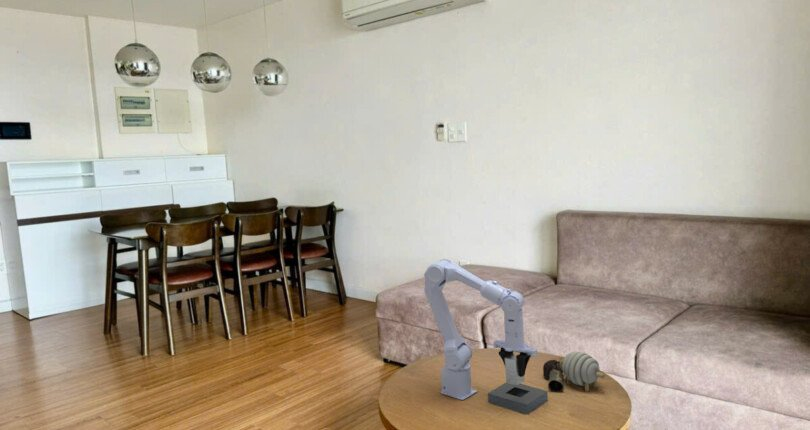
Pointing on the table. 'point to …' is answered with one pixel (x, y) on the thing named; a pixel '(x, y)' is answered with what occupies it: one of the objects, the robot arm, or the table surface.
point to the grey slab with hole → (518, 397)
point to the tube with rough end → (553, 375)
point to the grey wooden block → (512, 370)
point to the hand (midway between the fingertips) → (515, 373)
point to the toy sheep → (581, 369)
